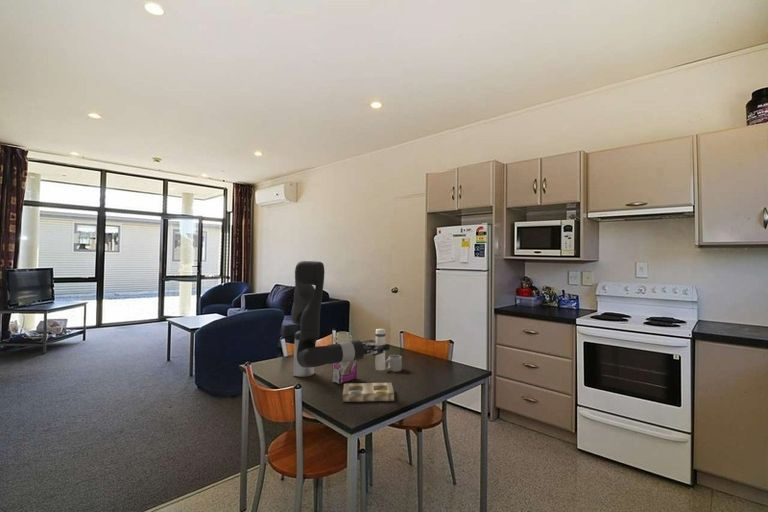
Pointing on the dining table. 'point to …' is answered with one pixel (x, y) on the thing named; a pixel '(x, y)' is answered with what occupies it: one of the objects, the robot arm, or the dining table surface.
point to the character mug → (342, 337)
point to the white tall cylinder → (381, 357)
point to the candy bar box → (344, 371)
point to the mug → (394, 363)
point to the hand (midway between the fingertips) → (385, 345)
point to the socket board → (368, 392)
